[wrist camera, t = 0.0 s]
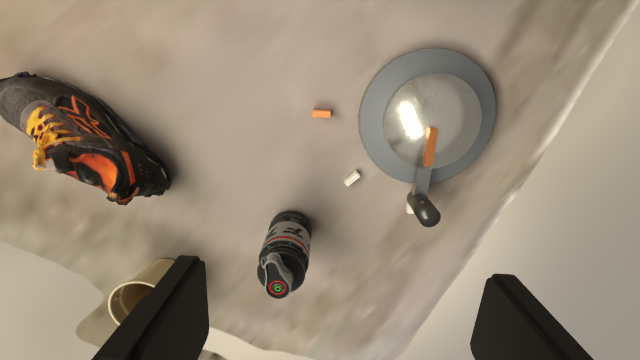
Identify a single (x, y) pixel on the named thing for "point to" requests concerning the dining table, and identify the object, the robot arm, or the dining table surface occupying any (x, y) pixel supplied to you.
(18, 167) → the dining table surface
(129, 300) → the flower pot
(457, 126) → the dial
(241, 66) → the dining table surface
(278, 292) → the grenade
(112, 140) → the athletic shoe
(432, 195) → the dining table surface
